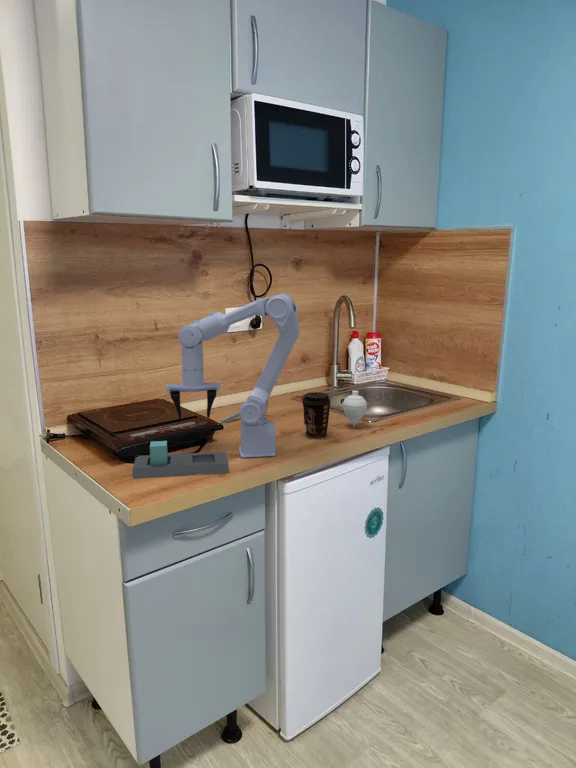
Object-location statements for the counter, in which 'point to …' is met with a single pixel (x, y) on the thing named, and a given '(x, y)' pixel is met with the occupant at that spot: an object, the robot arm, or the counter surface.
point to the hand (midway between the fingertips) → (194, 417)
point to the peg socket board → (182, 465)
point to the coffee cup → (316, 414)
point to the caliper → (230, 418)
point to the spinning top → (354, 407)
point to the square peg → (158, 453)
